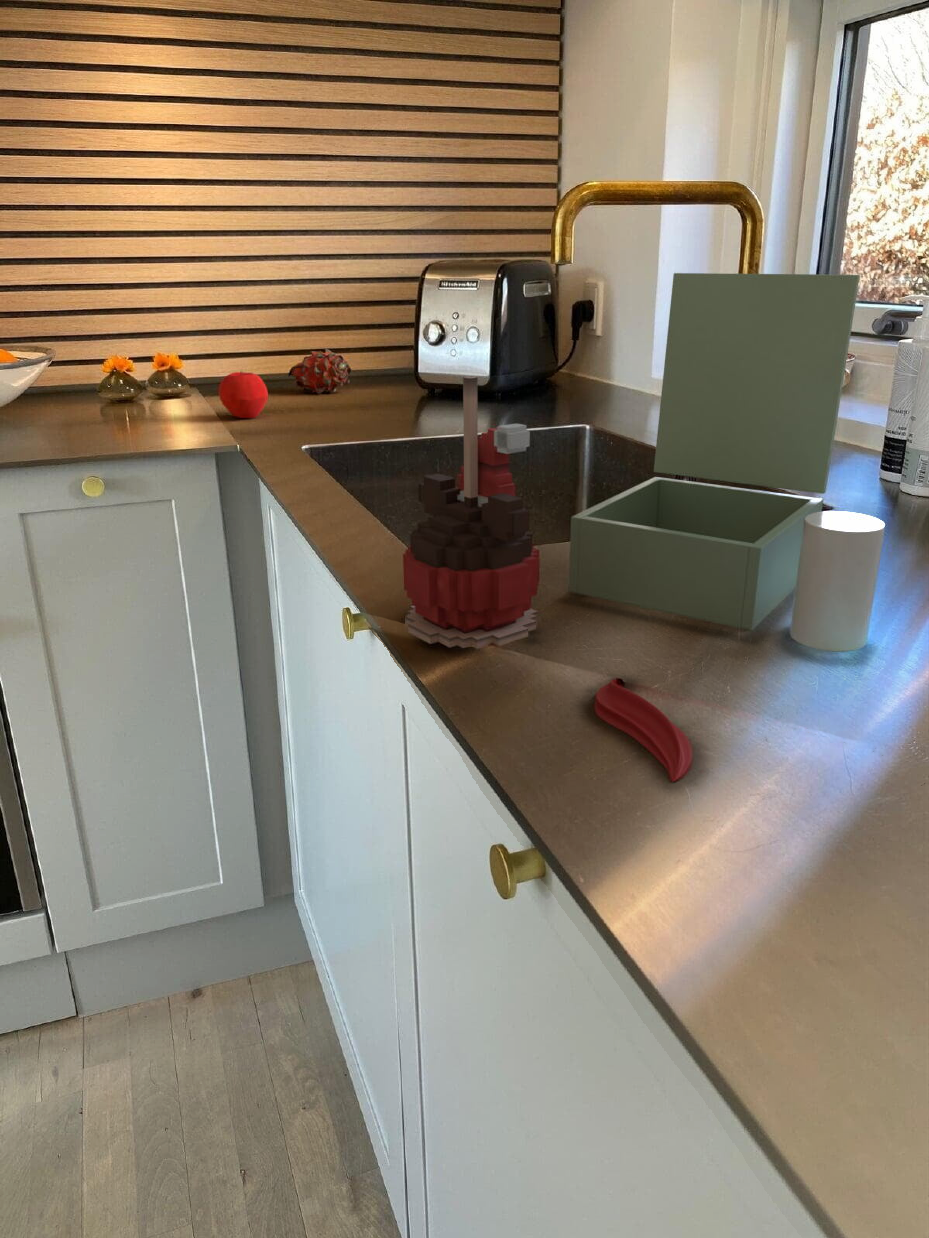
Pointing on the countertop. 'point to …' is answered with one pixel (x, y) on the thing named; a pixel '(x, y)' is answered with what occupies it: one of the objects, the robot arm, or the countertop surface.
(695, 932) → the countertop surface
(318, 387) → the dragon fruit
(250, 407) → the apple
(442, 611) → the cake
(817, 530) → the white cylinder
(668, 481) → the bin
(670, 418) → the bin lid
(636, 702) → the cayenne pepper
